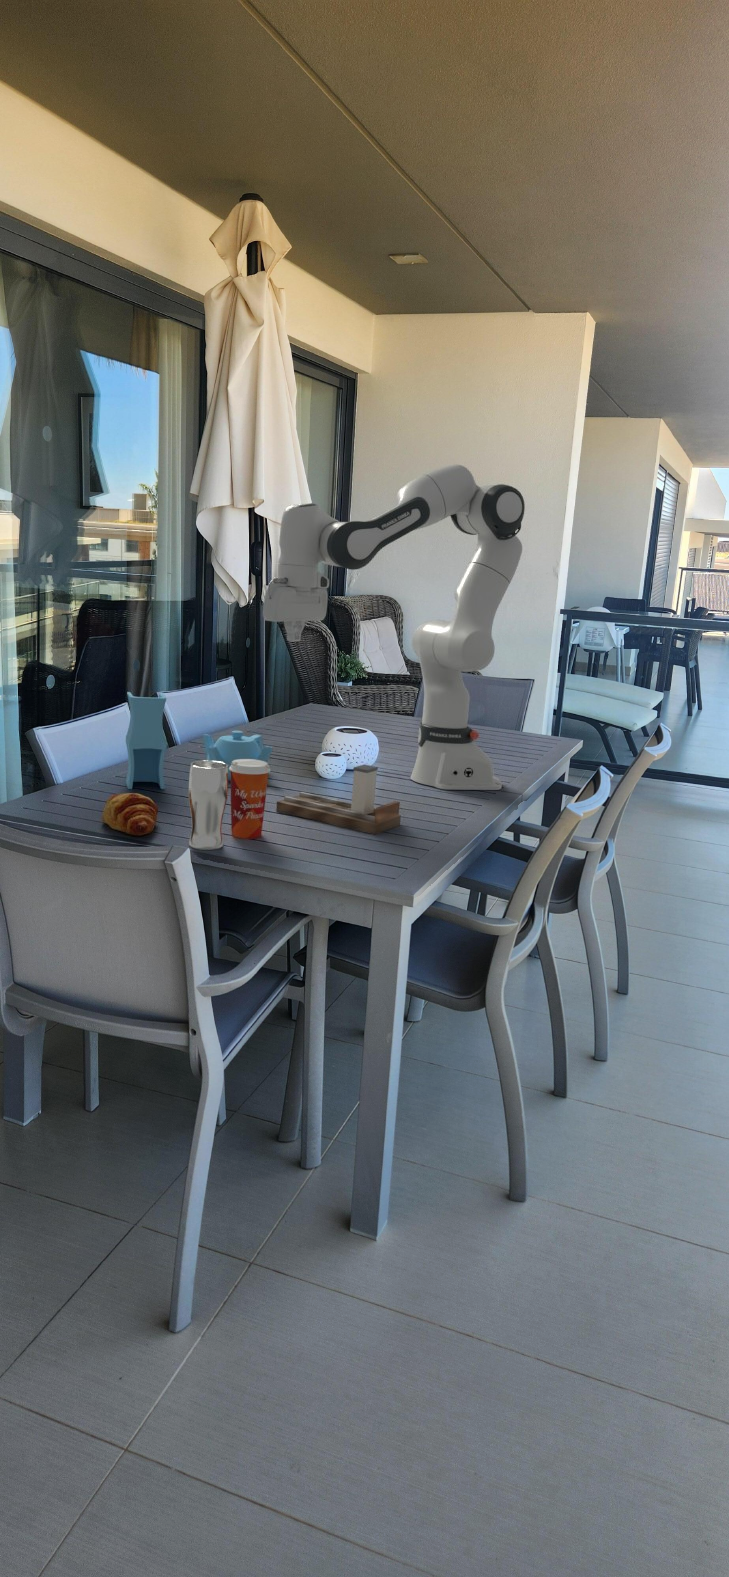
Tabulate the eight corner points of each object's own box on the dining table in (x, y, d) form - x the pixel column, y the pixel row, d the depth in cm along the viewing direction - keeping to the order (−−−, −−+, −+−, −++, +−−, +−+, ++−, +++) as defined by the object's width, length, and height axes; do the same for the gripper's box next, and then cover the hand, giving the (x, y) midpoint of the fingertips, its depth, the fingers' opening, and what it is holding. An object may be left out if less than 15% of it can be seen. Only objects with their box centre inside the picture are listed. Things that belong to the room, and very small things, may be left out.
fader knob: (350, 812, 201) (353, 767, 199) (360, 809, 204) (364, 764, 202) (363, 815, 199) (367, 770, 197) (374, 812, 203) (377, 767, 201)
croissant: (102, 828, 197) (83, 795, 194) (146, 803, 200) (128, 769, 197) (130, 858, 179) (110, 821, 176) (178, 830, 182) (159, 793, 179)
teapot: (272, 784, 230) (275, 738, 228) (207, 783, 226) (209, 736, 224) (262, 769, 244) (264, 726, 242) (200, 768, 240) (202, 724, 238)
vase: (160, 780, 225) (163, 692, 220) (165, 789, 218) (167, 698, 213) (124, 780, 222) (126, 691, 218) (128, 789, 215) (130, 697, 210)
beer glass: (217, 852, 176) (221, 770, 172) (180, 847, 177) (183, 765, 174) (230, 842, 182) (234, 762, 179) (194, 837, 184) (197, 758, 180)
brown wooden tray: (276, 810, 207) (277, 787, 206) (303, 802, 215) (304, 780, 214) (375, 834, 195) (377, 809, 194) (400, 824, 204) (402, 801, 202)
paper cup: (232, 841, 183) (235, 767, 180) (221, 830, 190) (224, 758, 187) (272, 839, 186) (276, 766, 183) (260, 828, 193) (264, 758, 190)
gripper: (281, 578, 210) (278, 644, 213) (333, 580, 227) (329, 641, 231) (257, 576, 213) (254, 641, 216) (310, 578, 231) (307, 638, 234)
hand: (293, 641), depth 224 cm, fingers closed
